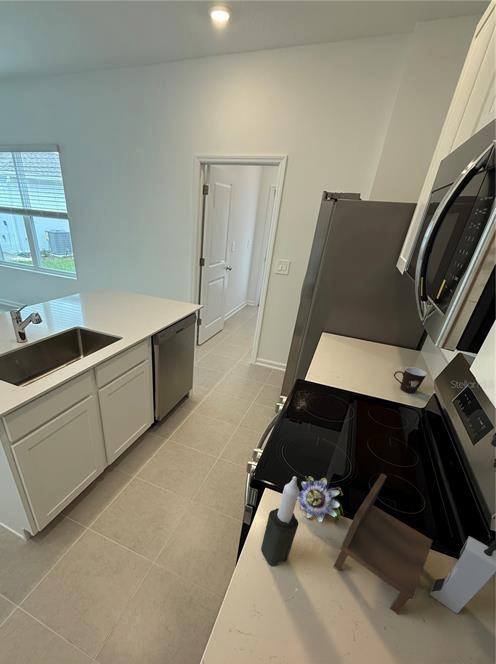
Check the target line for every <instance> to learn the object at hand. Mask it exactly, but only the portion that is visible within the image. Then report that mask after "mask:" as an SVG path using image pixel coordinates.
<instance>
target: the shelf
mask: <svg viewBox="0 0 496 664" xmlns="http://www.w3.org/2000/svg"><path fill="white" fill-rule="evenodd" d="M387 477H388V476H387V475H386V474H385V473H380V475H379V477H378V478H377V480H376V481H375V482H374V485H373V486H372V488H371V489H370V491H369V492H368V494H367V495H366V497H365V499H364V500H363V502H362V503H361V505H360V507H359V508H358V510H357V511H356V513H355V514H354V517H353V518H352V521H351V523H350V524H349V525H350V526H349V528H348V530H347V532H346V535H345V537H344V538H343V541H342V543H341V546H340V548H339V550H340V551H339V554H338V556H337V558H336V560H335V562H334V565H333V567H334V568H335V569H337V570H338V571H339V572H340V571H341V570H342V568H343V567H344V565H345V563H346V560H347V559H348V557H350V558H351V559H352V560H354V561H355V562H357V563H358V564H359V565H361V566H363V567H364V568H365V569H367V570H368V571H369V572H371V573H372V574H374V575H375V576H377V577H378V578H379V579H381V580H382V581H384V582H385V583H386V584H388V585H389V586H391V587H392V588H393V589H395V590H396V591H398V592H399V593H398V594H397V595H396V597H395V598H394V600H393V601H392V603H391V605H390V606H389V607H390V608H389V610H390V611H392V612H394V614H396V615H399V614H400V612H401V611H402V610H403V608H404V607H405V606H406V605H407V603H408V601H409V600H410V601H411V600H413V598H414V597H415V596H416V591H417V589H418V587H419V583H420V580H421V576H422V575H423V571H424V568H425V565H426V563H427V559H428V556H429V553H430V549H431V547H432V544H433V539H431V538H429V537H428V536H426V535H424V534H422V533H421V532H419V531H417V530H416V529H414V528H412V527H411V526H409V525H407V524H406V523H404V522H402V521H401V520H399V519H397V518H395V517H394V516H392V515H390V514H389V513H387V512H385V511H384V510H382V509H381V508H378V507H377V506H375V505H374V504H375V502H376V500H377V499H378V496H379V494H380V492H381V490H382V487H383V485H384V483H385V481H386V479H387Z"/></svg>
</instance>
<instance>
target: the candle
mask: <svg viewBox="0 0 496 664" xmlns="http://www.w3.org/2000/svg"><path fill="white" fill-rule="evenodd" d="M297 481H298V477H297V476H295V475H293V476H292V479H291V481H290V482H288V483H286V484H285V485H284V487H283V491H282V495H281V499H280V502H279V506H278V508H277V507H276V508H275V509H273V510H270V511H269V513H268V518H267V522H266V525H265V529H264V533H263V539H262V543H261V547H260V551H261V553H262V555H263V557H264V558H265V561H266V562H267V564H268V565H269V566H271V567H275V566H276V565H278V564H281V563H286V562H287V561H288V558H289V556H290V552H291V550H292V546H293V543H294V540H295V536H296V533H297V531H298V527H299V521H298V518H297V517H296V515H295V513H294V511H295V507H296V504H297V502H298V500H297V498H298V495H299V492H300V489H299V487H298V483H297Z"/></svg>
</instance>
